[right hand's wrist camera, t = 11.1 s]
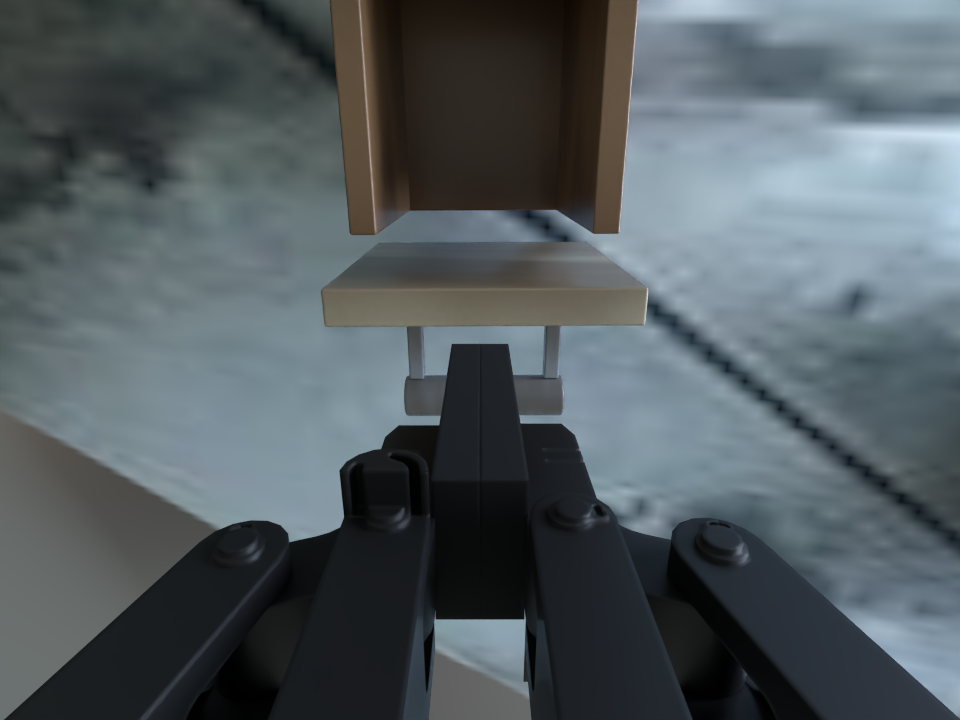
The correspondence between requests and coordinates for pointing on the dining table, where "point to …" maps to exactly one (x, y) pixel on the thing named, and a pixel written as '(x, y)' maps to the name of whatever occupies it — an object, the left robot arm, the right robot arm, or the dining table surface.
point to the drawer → (484, 169)
